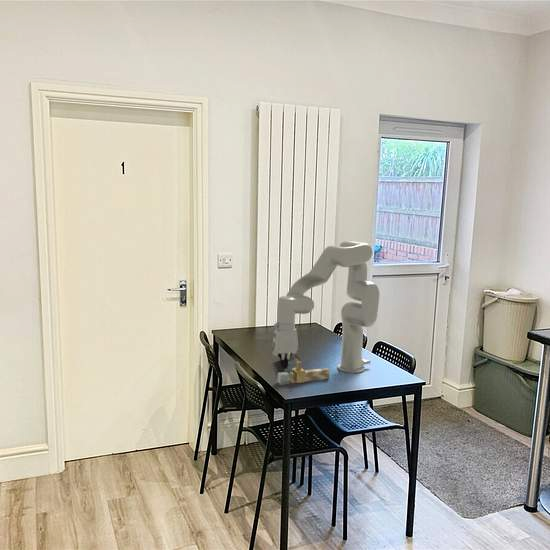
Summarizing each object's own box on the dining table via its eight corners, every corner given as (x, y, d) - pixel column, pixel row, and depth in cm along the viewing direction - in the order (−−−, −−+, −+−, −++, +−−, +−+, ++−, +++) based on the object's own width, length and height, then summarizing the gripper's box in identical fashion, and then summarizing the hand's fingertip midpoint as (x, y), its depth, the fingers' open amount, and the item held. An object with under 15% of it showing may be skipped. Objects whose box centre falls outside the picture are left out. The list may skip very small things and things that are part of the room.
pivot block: (286, 381, 236) (286, 371, 235) (289, 384, 233) (289, 374, 232) (277, 382, 234) (277, 372, 234) (280, 385, 231) (280, 375, 231)
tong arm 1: (326, 376, 243) (327, 368, 242) (327, 377, 242) (328, 368, 241) (289, 380, 236) (289, 371, 236) (290, 381, 235) (290, 372, 234)
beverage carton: (283, 373, 247) (284, 359, 246) (279, 360, 266) (279, 347, 265) (301, 373, 248) (301, 359, 247) (295, 360, 267) (295, 347, 266)
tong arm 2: (327, 377, 242) (328, 368, 241) (329, 378, 241) (329, 369, 240) (290, 382, 235) (291, 373, 234) (292, 382, 234) (292, 374, 233)
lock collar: (299, 378, 239) (300, 359, 238) (304, 382, 235) (305, 362, 233) (291, 379, 238) (292, 360, 236) (296, 383, 233) (297, 363, 232)
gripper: (272, 329, 224) (271, 372, 226) (305, 326, 229) (303, 369, 232) (265, 325, 230) (264, 366, 233) (297, 322, 236) (296, 363, 239)
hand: (284, 367), depth 233 cm, fingers closed
